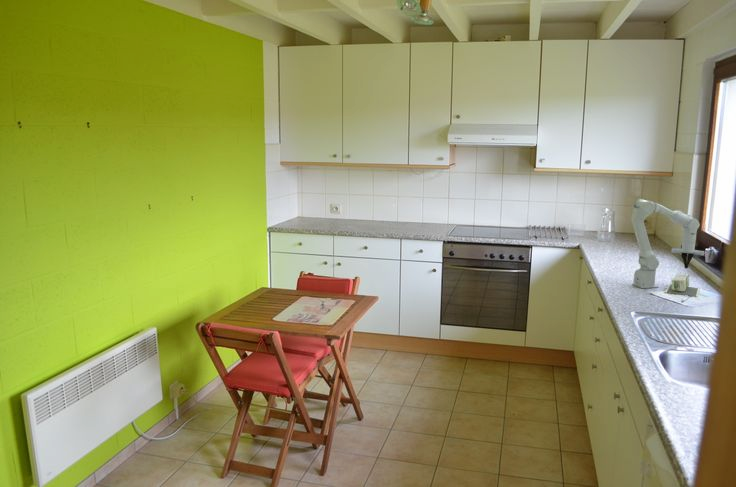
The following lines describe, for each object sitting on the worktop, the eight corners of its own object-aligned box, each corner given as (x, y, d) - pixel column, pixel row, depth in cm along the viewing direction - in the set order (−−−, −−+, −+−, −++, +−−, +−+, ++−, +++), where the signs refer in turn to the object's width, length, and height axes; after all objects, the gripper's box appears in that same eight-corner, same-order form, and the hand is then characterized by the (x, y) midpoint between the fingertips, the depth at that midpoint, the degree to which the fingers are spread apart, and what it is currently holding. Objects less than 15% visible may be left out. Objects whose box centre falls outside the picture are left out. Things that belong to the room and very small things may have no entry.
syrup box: (676, 274, 298) (670, 279, 287) (689, 274, 295) (683, 280, 283) (676, 285, 299) (670, 291, 288) (690, 285, 295) (684, 291, 284)
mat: (697, 297, 278) (697, 296, 278) (664, 292, 285) (664, 292, 285) (699, 288, 293) (699, 288, 293) (668, 285, 300) (668, 284, 300)
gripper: (705, 241, 293) (703, 268, 296) (673, 238, 301) (670, 264, 303) (705, 243, 288) (702, 270, 290) (672, 241, 295) (669, 267, 298)
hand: (686, 267), depth 296 cm, fingers closed
